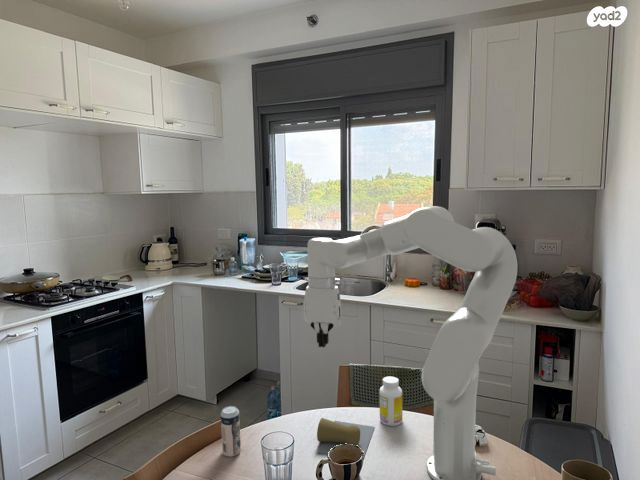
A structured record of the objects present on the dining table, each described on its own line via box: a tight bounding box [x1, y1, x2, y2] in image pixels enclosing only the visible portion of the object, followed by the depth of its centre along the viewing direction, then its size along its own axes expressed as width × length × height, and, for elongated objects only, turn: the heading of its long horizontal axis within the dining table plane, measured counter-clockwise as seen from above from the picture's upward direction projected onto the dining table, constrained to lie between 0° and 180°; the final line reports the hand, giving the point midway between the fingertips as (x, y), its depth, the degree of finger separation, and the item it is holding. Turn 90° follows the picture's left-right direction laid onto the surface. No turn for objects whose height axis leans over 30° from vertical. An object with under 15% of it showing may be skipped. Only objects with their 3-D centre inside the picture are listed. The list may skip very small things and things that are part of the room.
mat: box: [317, 420, 376, 457], centre depth 118 cm, size 12×16×1 cm
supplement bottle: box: [378, 375, 403, 427], centre depth 127 cm, size 7×7×13 cm
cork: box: [316, 417, 360, 445], centre depth 116 cm, size 6×6×11 cm
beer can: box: [220, 405, 242, 458], centre depth 113 cm, size 5×5×12 cm
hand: (322, 345), depth 122 cm, fingers closed
